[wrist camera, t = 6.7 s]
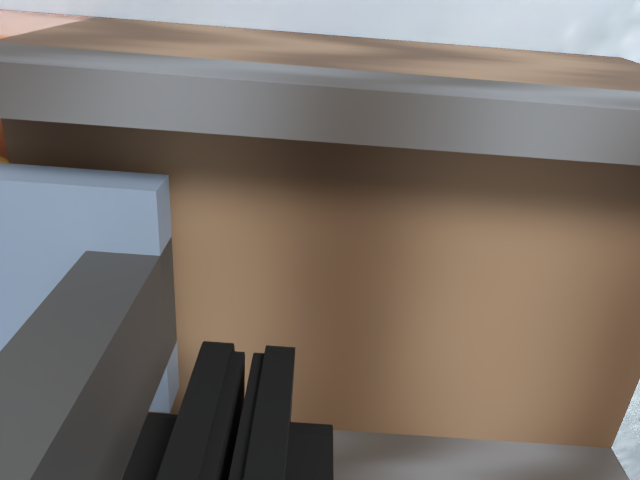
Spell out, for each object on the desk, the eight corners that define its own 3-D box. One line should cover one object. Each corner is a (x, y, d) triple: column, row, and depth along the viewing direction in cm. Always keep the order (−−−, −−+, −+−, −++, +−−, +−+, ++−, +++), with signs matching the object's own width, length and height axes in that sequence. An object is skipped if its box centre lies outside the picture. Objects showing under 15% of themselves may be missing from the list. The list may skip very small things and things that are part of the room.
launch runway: (621, 57, 17) (829, 125, 10) (534, 348, 22) (633, 534, 15) (96, 17, 17) (-77, 55, 10) (125, 320, 22) (25, 496, 15)
